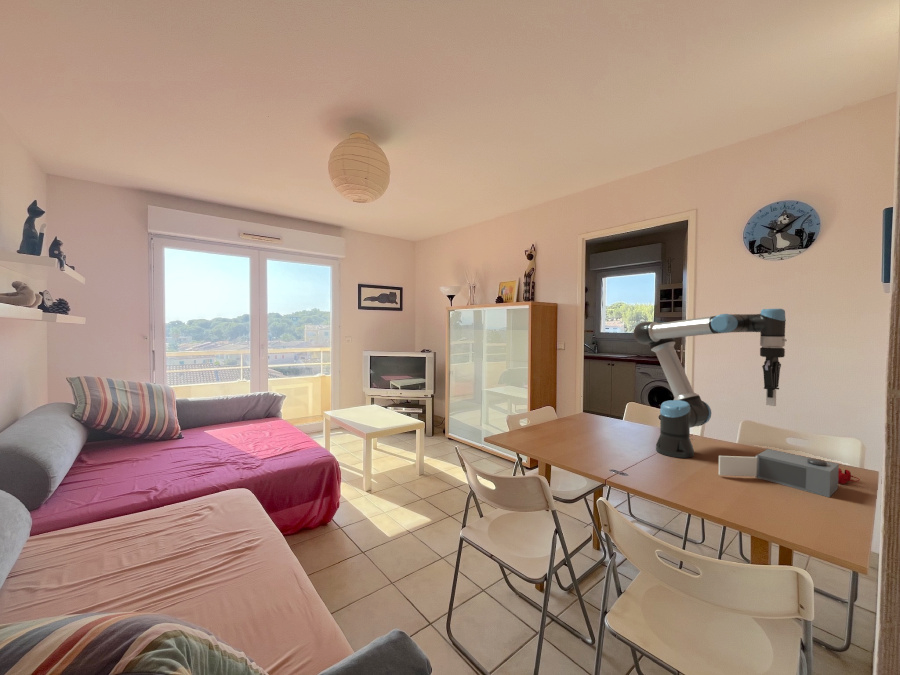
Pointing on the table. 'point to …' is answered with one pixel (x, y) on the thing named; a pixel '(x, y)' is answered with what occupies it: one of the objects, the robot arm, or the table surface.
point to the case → (799, 472)
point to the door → (739, 466)
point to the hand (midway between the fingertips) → (771, 405)
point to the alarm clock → (844, 477)
